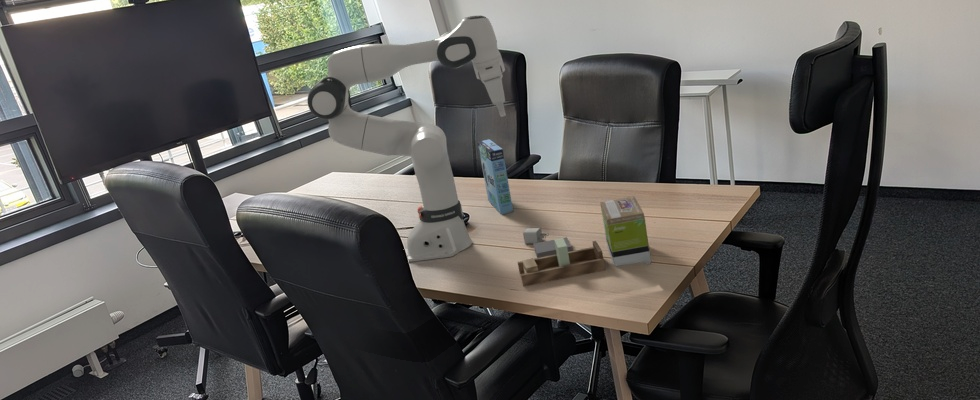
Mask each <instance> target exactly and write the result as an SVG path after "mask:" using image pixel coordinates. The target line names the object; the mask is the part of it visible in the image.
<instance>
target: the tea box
mask: <svg viewBox="0 0 980 400" xmlns="http://www.w3.org/2000/svg"><path fill="white" fill-rule="evenodd" d="M600 208H601V214H602V215H601V217H602V222H603V227H604V228H603V229H604V233H605V234H604V235H605V239H606V244H607V245H606V246H607V250H608V252H609V256H610V258H611V261H612V264H613V266H614V267H619V266H625V265H631V264H637V263H643V265H649V264H651V263H652V259H651V253H650V245H649V240H648V239H649V238H648V233H647V232H648V231H647V225H646V218H645V213H644V211H643V210H642V208H641V206H640V204H639V203H638V200H637V198H636V197H635V195H634V196H627V197H621V198H617V199H611V200H606V201H605V200H604V201H600Z"/></svg>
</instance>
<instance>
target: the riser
mask: <svg viewBox="0 0 980 400" xmlns="http://www.w3.org/2000/svg"><path fill="white" fill-rule="evenodd" d="M562 238H563V239H564V241H565V243H566V245H567V249H568V252H570V251H573V246H572V244H571V242H570V241H569V239H568V237H567V236H566V237H562ZM533 250H534V253H535V256H536V258H540V257H545V256H550V255H555V254H557V253H556V247H555V241H554V239H551V240H547V241H541V242H540V243H535V244H533Z"/></svg>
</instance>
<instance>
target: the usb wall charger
mask: <svg viewBox="0 0 980 400" xmlns="http://www.w3.org/2000/svg"><path fill="white" fill-rule="evenodd" d="M522 235H523V241H524V245H525V244H526V245H528V244H529V245H530V244H531V245H534V244H535V243H540V242H543V239H546V238H547V236H549V233H547V232H544V233H542V228H541V227H532V228H530V227H527V228H526V229H525V230H524V231H523V232H522Z"/></svg>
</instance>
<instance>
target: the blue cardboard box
mask: <svg viewBox="0 0 980 400" xmlns="http://www.w3.org/2000/svg"><path fill="white" fill-rule="evenodd" d="M477 147H478V150H479V157H480V162H481V163H480V164H481V168H482V173H483V180H484V184H485V190H486V195H487V200H488V202H489V203H490V204H491V205H492V206H493V208H494V209H496V211H497V212H498V213H499V214H500V215H501V214H502V215H505V213H506V214H509V212H510V213H512V212H513V213H514V207H513V203H512V197H511V196H512V195H511V190H510V184H509V178H508V173H507V168H506V162H505V161H506V160H505V157H504V156H505V155H504V149H503V148H502V147H500V146H499V145H498V144H497V143H495V142H494V141H493V140H491V139H489V138H488V139H484V140H480V141H477Z"/></svg>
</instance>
